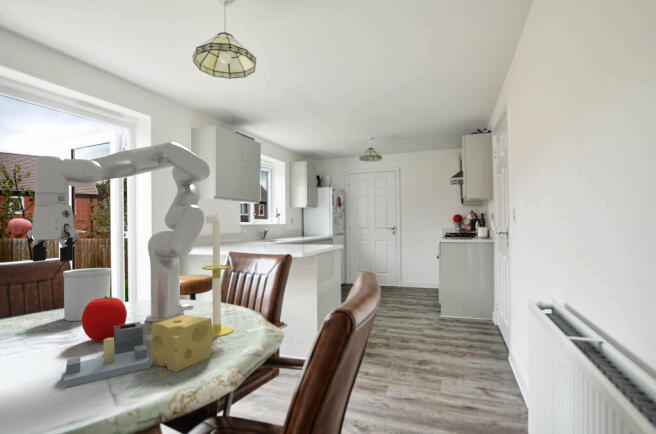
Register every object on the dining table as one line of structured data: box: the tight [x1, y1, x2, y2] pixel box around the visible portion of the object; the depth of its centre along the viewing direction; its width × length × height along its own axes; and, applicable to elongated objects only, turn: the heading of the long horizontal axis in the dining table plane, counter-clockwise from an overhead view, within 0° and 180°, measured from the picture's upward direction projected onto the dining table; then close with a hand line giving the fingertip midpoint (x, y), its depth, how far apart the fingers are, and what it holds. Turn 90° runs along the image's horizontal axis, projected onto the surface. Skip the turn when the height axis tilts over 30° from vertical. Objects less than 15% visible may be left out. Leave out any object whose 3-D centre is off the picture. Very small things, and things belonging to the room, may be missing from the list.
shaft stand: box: [63, 337, 151, 388], centre depth 79 cm, size 16×10×7 cm, turn 126°
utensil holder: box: [62, 267, 112, 322], centre depth 127 cm, size 15×15×18 cm
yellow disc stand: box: [201, 214, 234, 338], centre depth 106 cm, size 10×10×38 cm
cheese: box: [151, 314, 213, 373], centre depth 84 cm, size 10×11×10 cm
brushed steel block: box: [113, 321, 144, 355], centre depth 92 cm, size 6×6×6 cm
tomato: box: [81, 296, 128, 342], centre depth 100 cm, size 11×11×13 cm
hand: (52, 261), depth 95 cm, fingers open, 9 cm apart
